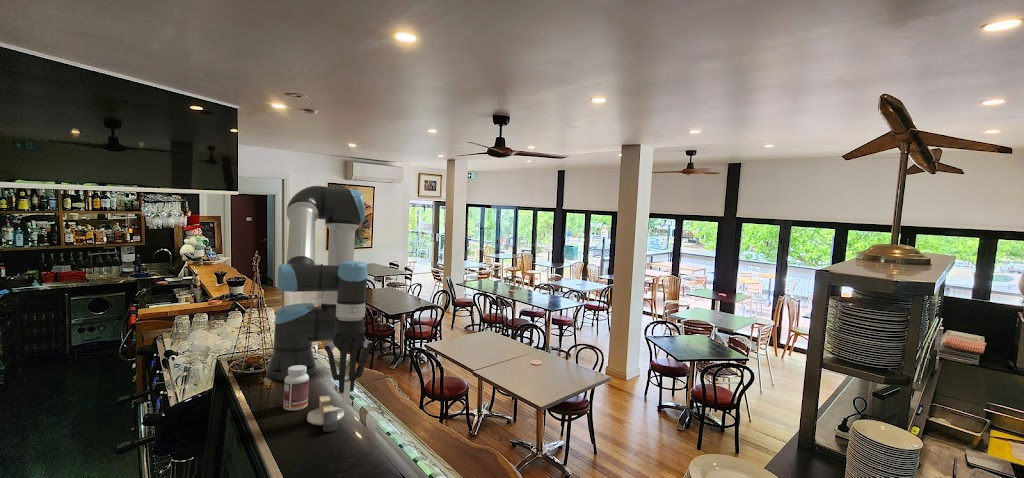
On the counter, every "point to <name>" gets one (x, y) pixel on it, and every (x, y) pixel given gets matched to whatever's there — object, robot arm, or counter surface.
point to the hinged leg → (328, 414)
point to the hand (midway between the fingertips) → (345, 403)
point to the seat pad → (317, 417)
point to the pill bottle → (296, 388)
